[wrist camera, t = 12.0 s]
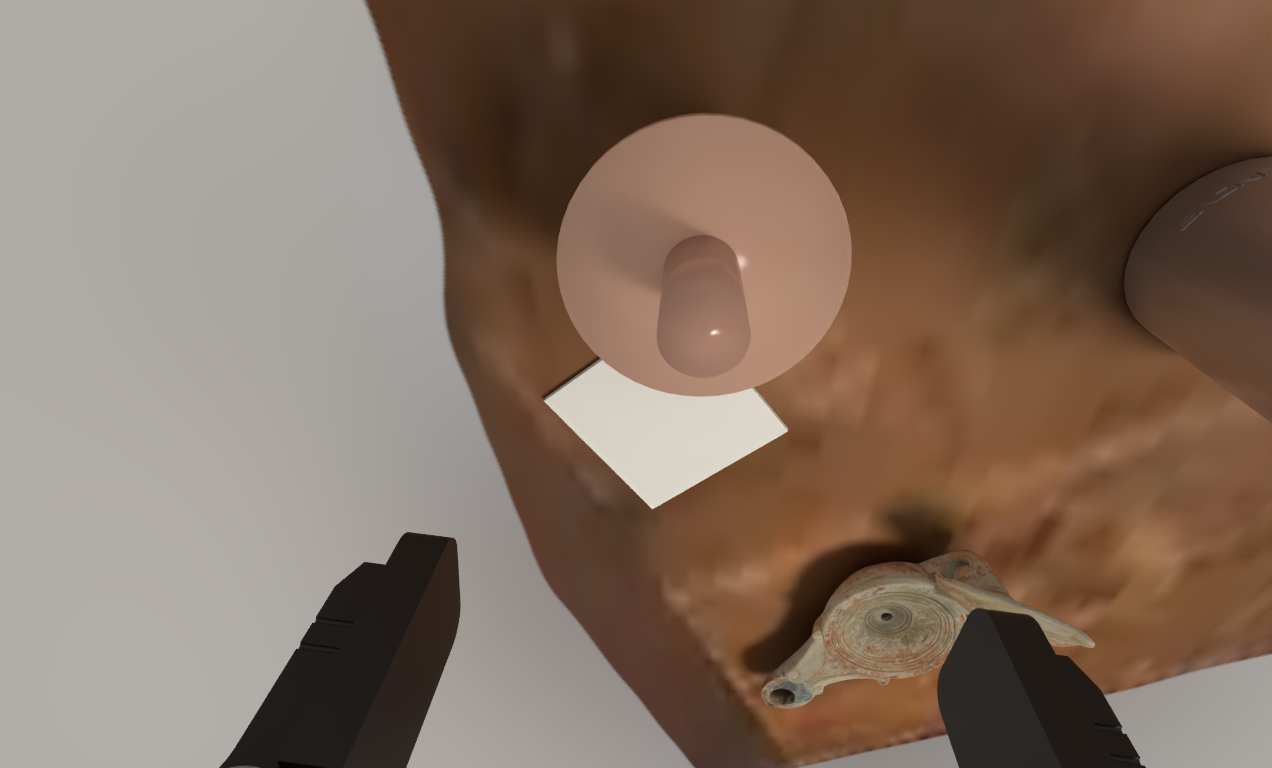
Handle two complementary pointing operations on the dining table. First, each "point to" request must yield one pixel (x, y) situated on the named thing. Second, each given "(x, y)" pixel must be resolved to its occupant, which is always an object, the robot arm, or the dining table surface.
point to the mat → (662, 429)
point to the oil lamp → (898, 625)
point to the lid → (704, 255)
